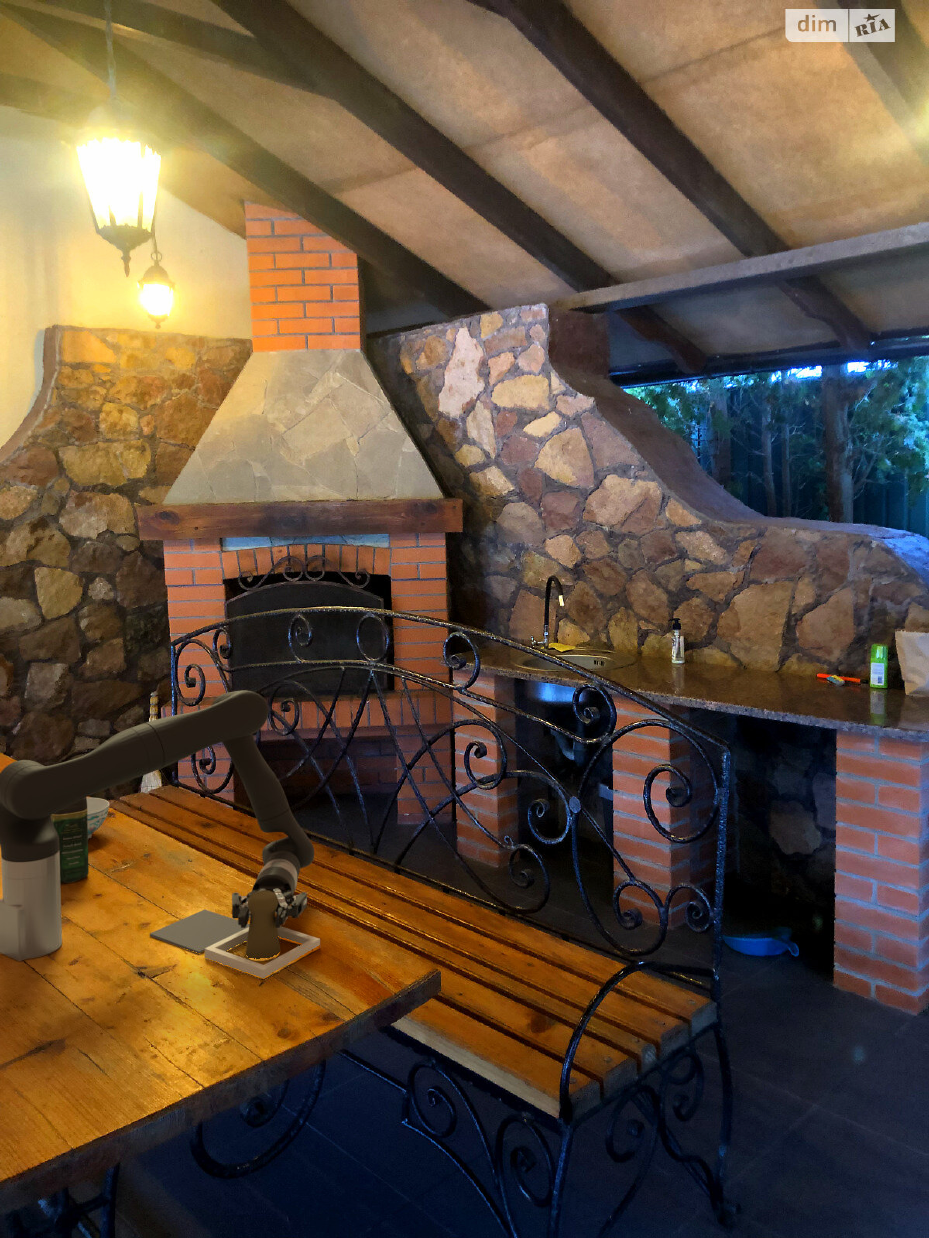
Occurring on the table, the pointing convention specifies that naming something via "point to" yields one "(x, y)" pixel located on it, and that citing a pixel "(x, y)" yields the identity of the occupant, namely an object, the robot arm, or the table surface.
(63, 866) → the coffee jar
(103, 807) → the chinaware
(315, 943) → the white square frame
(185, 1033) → the table surface
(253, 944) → the cork
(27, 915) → the robot arm
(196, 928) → the mat
